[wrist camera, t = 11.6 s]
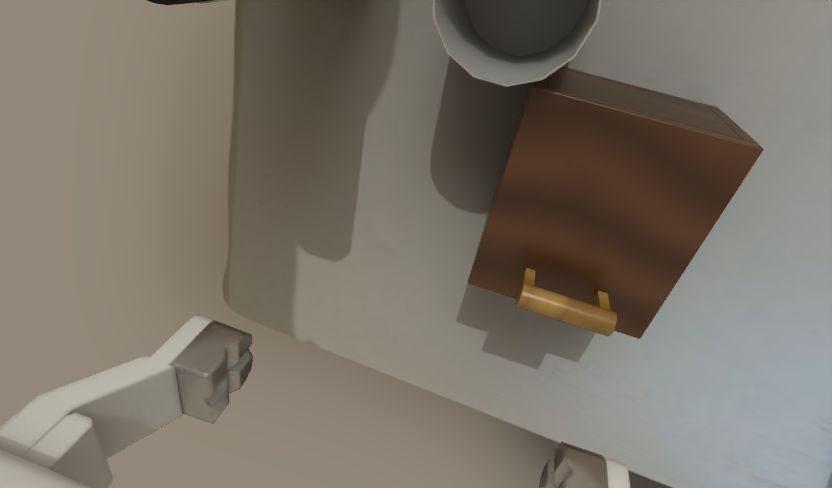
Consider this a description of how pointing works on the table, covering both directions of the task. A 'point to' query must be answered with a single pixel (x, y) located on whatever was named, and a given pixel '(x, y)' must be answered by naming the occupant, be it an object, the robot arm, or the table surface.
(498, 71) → the cup
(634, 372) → the table surface
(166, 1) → the travel mug
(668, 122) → the lid
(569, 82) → the box
